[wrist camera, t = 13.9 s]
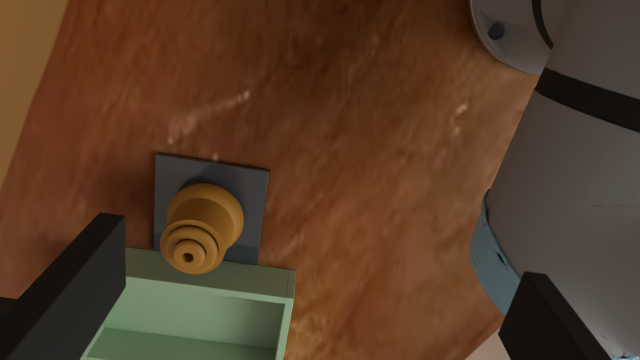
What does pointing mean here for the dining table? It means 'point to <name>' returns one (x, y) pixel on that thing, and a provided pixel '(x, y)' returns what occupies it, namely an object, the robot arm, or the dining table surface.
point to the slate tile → (233, 178)
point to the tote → (196, 313)
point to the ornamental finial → (200, 228)
